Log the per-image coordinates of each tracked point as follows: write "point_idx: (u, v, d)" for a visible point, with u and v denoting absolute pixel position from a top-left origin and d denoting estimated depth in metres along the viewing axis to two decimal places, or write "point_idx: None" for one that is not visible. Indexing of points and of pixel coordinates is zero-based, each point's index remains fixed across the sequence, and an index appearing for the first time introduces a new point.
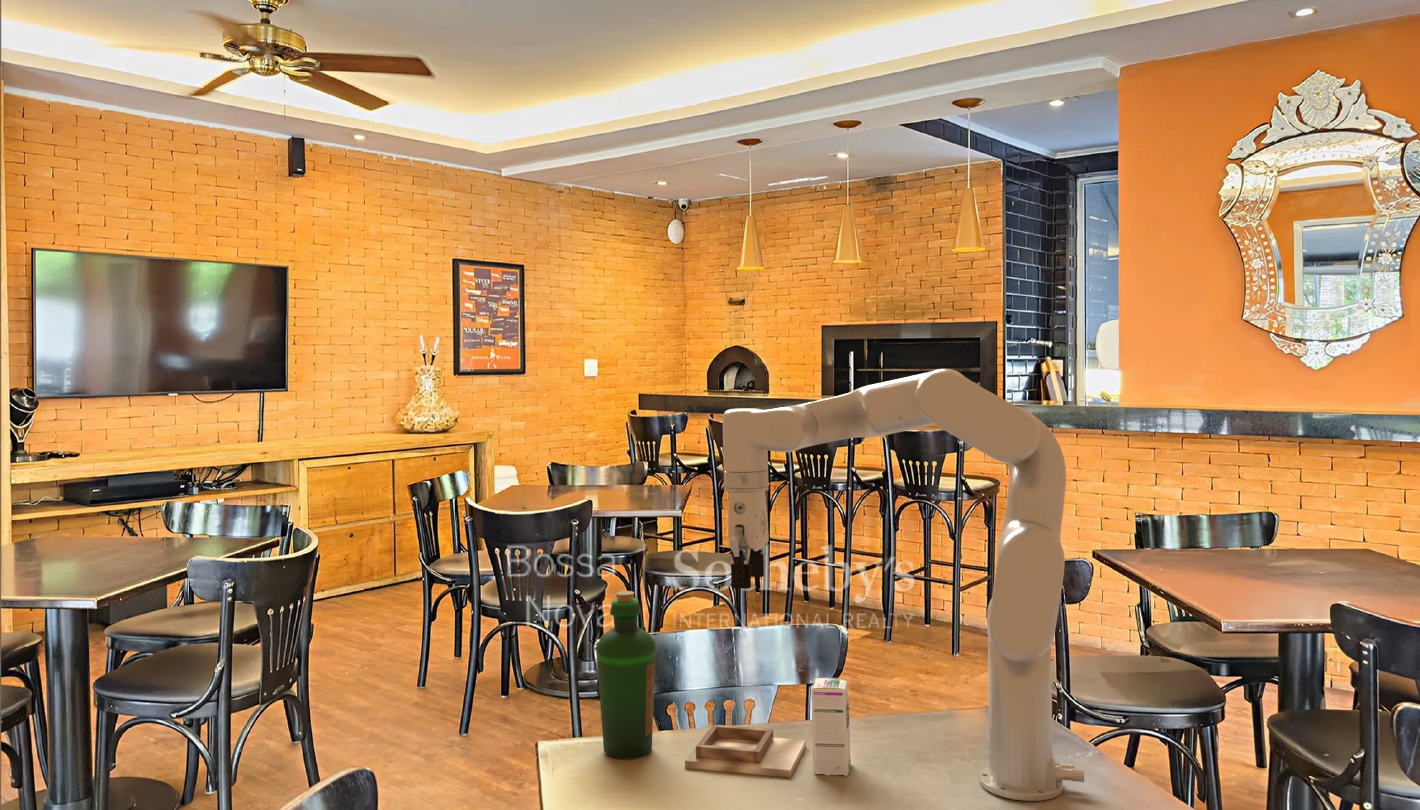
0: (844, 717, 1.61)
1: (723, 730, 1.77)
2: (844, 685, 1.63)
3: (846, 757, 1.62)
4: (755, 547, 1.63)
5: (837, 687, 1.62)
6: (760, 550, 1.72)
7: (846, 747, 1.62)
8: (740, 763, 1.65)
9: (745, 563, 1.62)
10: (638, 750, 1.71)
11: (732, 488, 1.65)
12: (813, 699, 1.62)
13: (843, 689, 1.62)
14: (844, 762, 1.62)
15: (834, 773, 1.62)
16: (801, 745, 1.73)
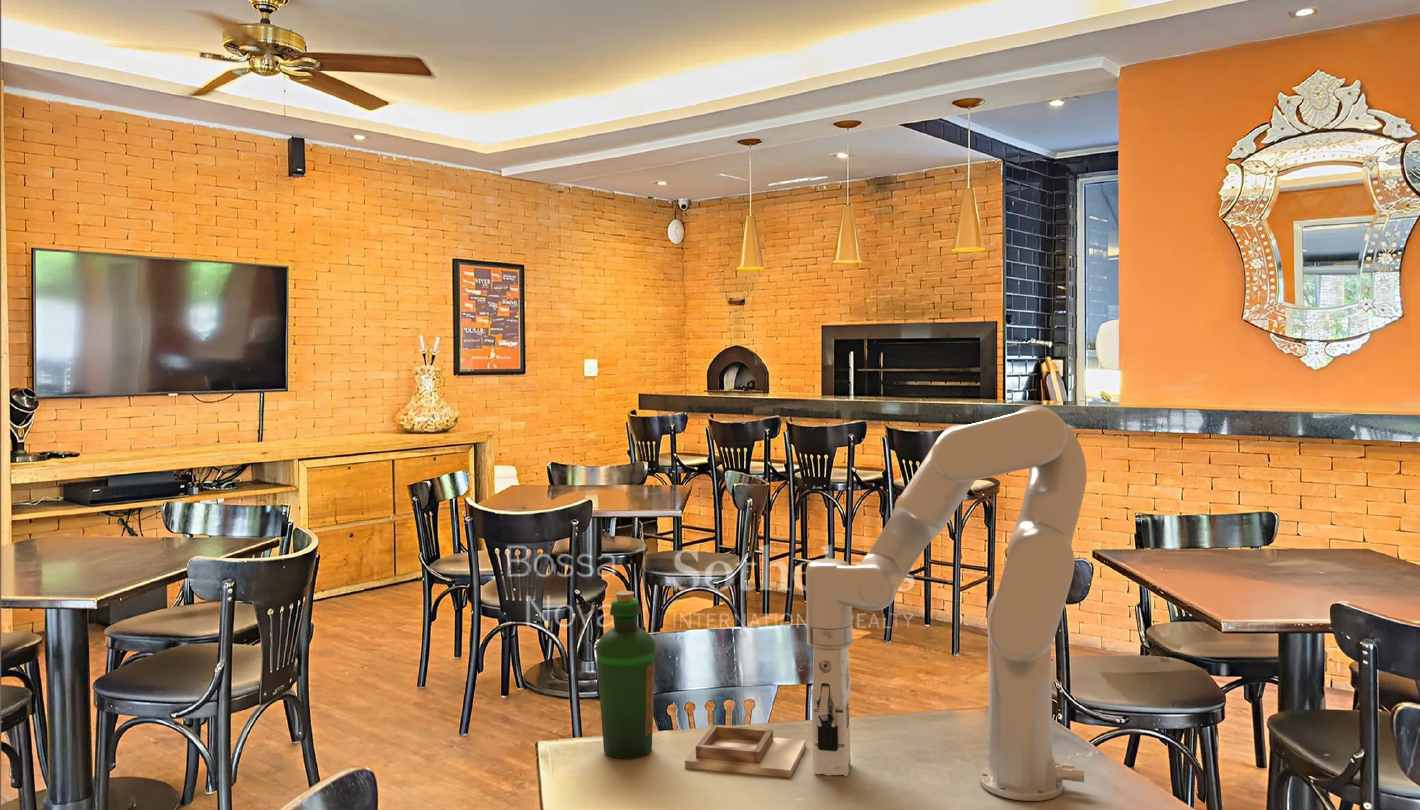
0: (844, 717, 1.61)
1: (723, 730, 1.77)
2: None
3: (846, 757, 1.62)
4: (841, 707, 1.59)
5: None
6: None
7: (846, 747, 1.62)
8: (740, 763, 1.65)
9: (833, 727, 1.60)
10: (638, 750, 1.71)
11: (817, 644, 1.62)
12: (813, 699, 1.62)
13: None
14: (844, 761, 1.62)
15: (834, 773, 1.62)
16: (801, 745, 1.73)
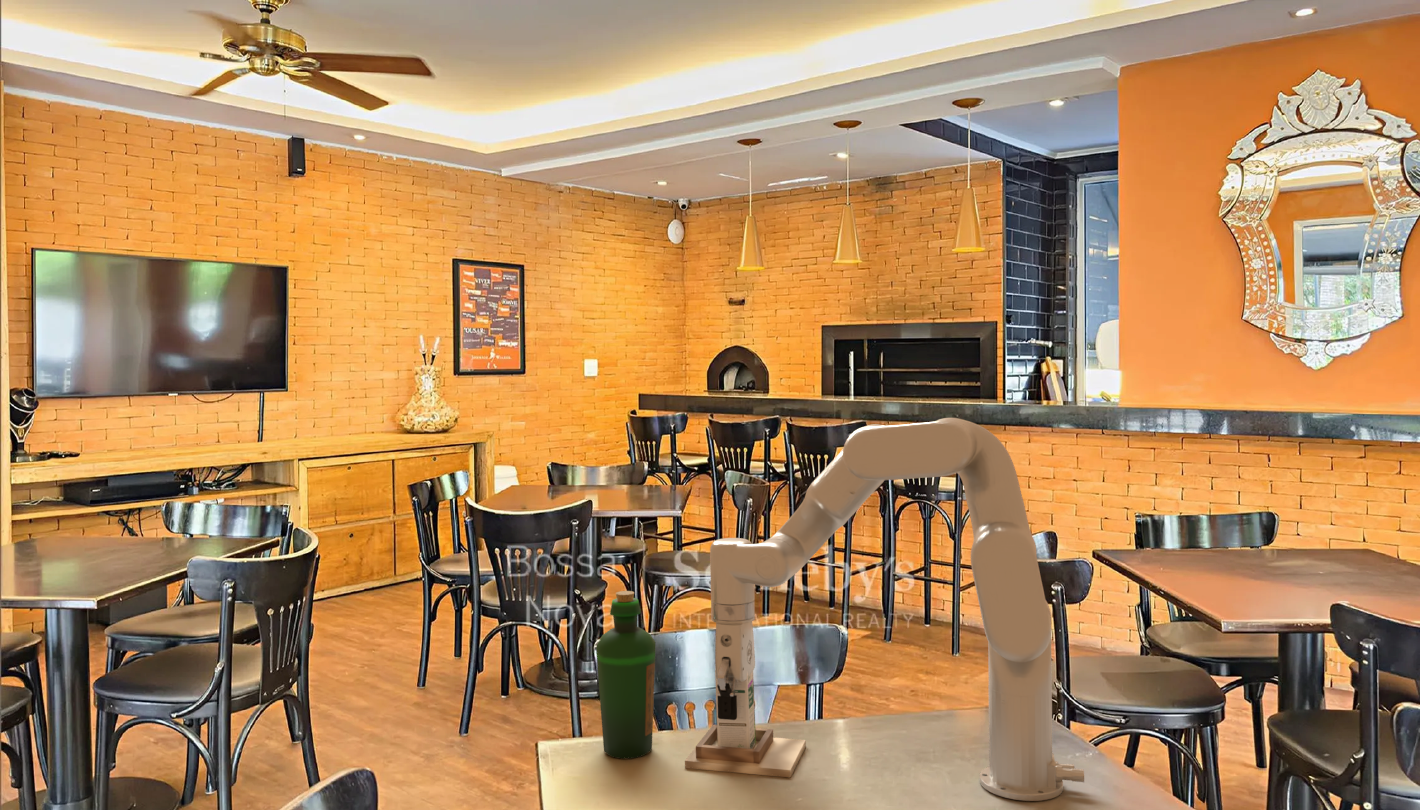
0: (746, 697, 1.68)
1: None
2: None
3: (748, 736, 1.68)
4: (741, 679, 1.66)
5: None
6: None
7: (748, 726, 1.68)
8: (740, 763, 1.65)
9: (731, 695, 1.65)
10: (638, 750, 1.71)
11: (719, 620, 1.68)
12: (717, 680, 1.69)
13: None
14: (746, 740, 1.68)
15: None
16: (801, 745, 1.73)
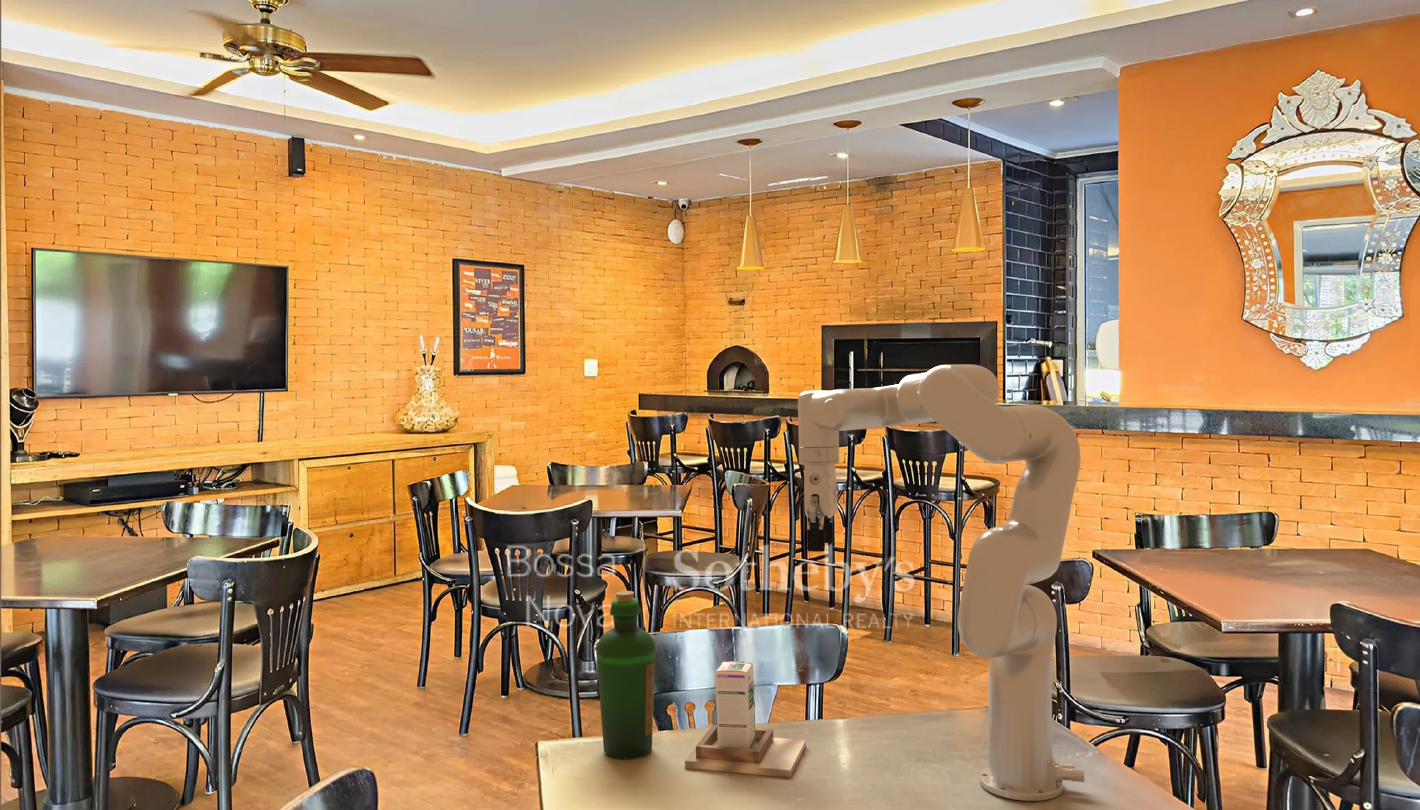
0: (746, 699, 1.68)
1: None
2: (747, 668, 1.70)
3: (748, 737, 1.68)
4: (829, 514, 1.81)
5: (740, 670, 1.68)
6: (830, 519, 1.91)
7: (748, 728, 1.68)
8: (740, 763, 1.65)
9: (820, 528, 1.80)
10: (638, 750, 1.71)
11: (807, 462, 1.83)
12: (717, 681, 1.69)
13: (745, 672, 1.68)
14: (746, 742, 1.68)
15: None
16: (801, 745, 1.73)
